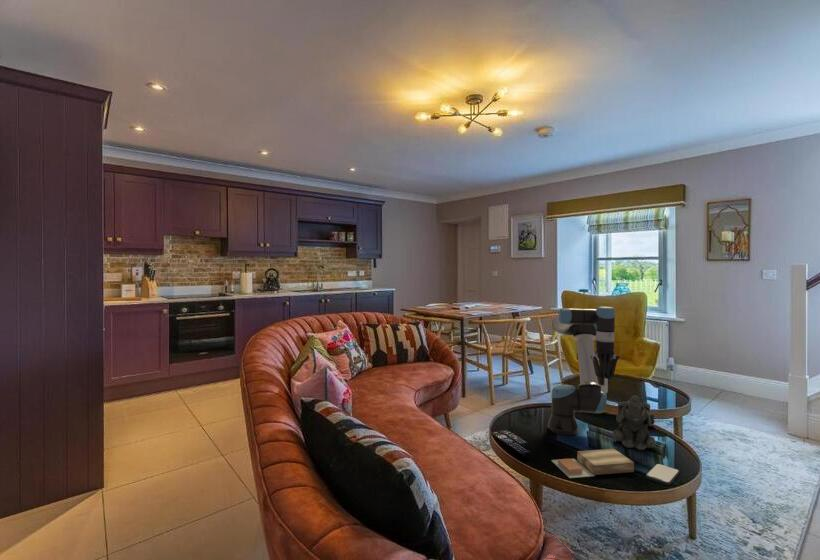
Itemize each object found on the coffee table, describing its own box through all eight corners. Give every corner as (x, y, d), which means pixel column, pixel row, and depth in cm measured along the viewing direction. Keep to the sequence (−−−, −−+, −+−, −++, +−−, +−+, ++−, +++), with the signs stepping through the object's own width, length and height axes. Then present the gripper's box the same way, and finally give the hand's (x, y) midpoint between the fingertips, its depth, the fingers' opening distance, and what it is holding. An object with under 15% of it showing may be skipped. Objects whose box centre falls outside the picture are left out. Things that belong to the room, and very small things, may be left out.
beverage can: (638, 425, 222) (634, 433, 213) (636, 411, 222) (631, 419, 213) (657, 426, 216) (654, 434, 207) (654, 412, 217) (651, 420, 207)
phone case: (656, 466, 174) (644, 478, 164) (656, 462, 174) (644, 474, 164) (680, 474, 168) (669, 487, 157) (680, 470, 168) (669, 483, 157)
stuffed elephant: (634, 455, 183) (635, 397, 183) (603, 436, 204) (604, 384, 203) (669, 451, 188) (670, 394, 187) (635, 433, 208) (636, 382, 207)
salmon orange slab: (570, 458, 175) (570, 462, 175) (557, 459, 174) (557, 463, 174) (582, 468, 166) (582, 473, 166) (569, 469, 165) (569, 474, 165)
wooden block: (577, 460, 179) (577, 451, 178) (613, 457, 181) (613, 448, 181) (594, 474, 166) (594, 465, 166) (633, 471, 168) (634, 462, 168)
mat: (551, 460, 178) (551, 460, 178) (574, 459, 179) (574, 458, 179) (569, 478, 163) (569, 477, 163) (594, 476, 165) (594, 475, 165)
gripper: (597, 342, 177) (596, 395, 178) (623, 341, 179) (622, 393, 180) (587, 339, 185) (586, 390, 185) (612, 338, 186) (611, 388, 187)
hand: (604, 391), depth 182 cm, fingers closed
